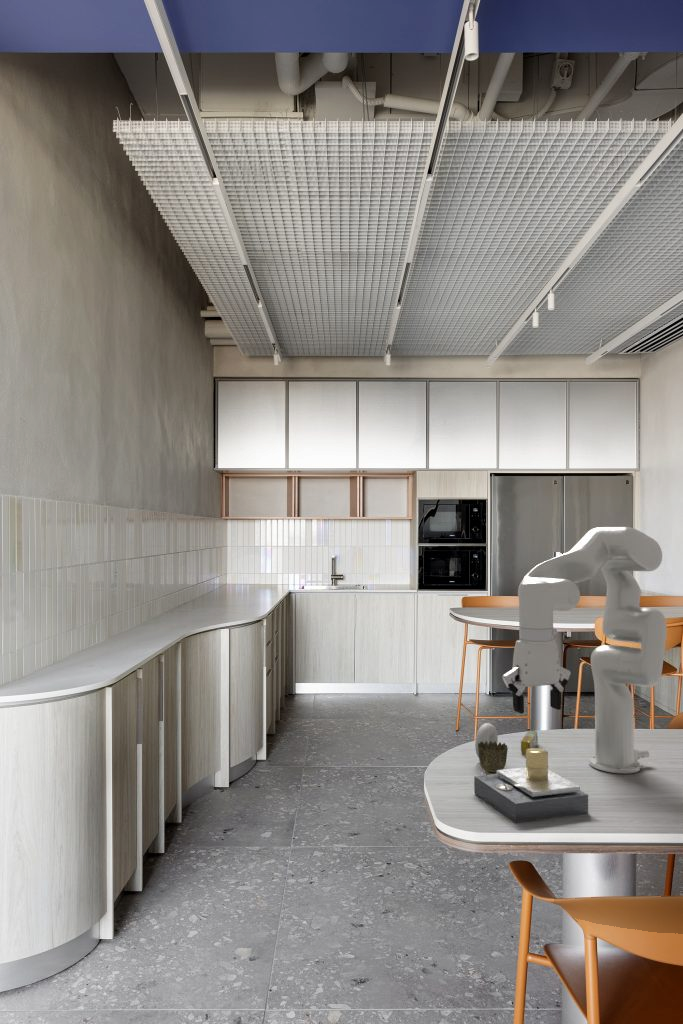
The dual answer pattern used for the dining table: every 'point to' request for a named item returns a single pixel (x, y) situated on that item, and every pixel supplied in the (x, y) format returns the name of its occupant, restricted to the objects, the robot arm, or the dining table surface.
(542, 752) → the brass weight
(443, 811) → the dining table surface
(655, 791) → the dining table surface
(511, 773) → the scale pan
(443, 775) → the dining table surface
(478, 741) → the grey rounded slab
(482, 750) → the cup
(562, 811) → the scale
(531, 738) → the medication box
